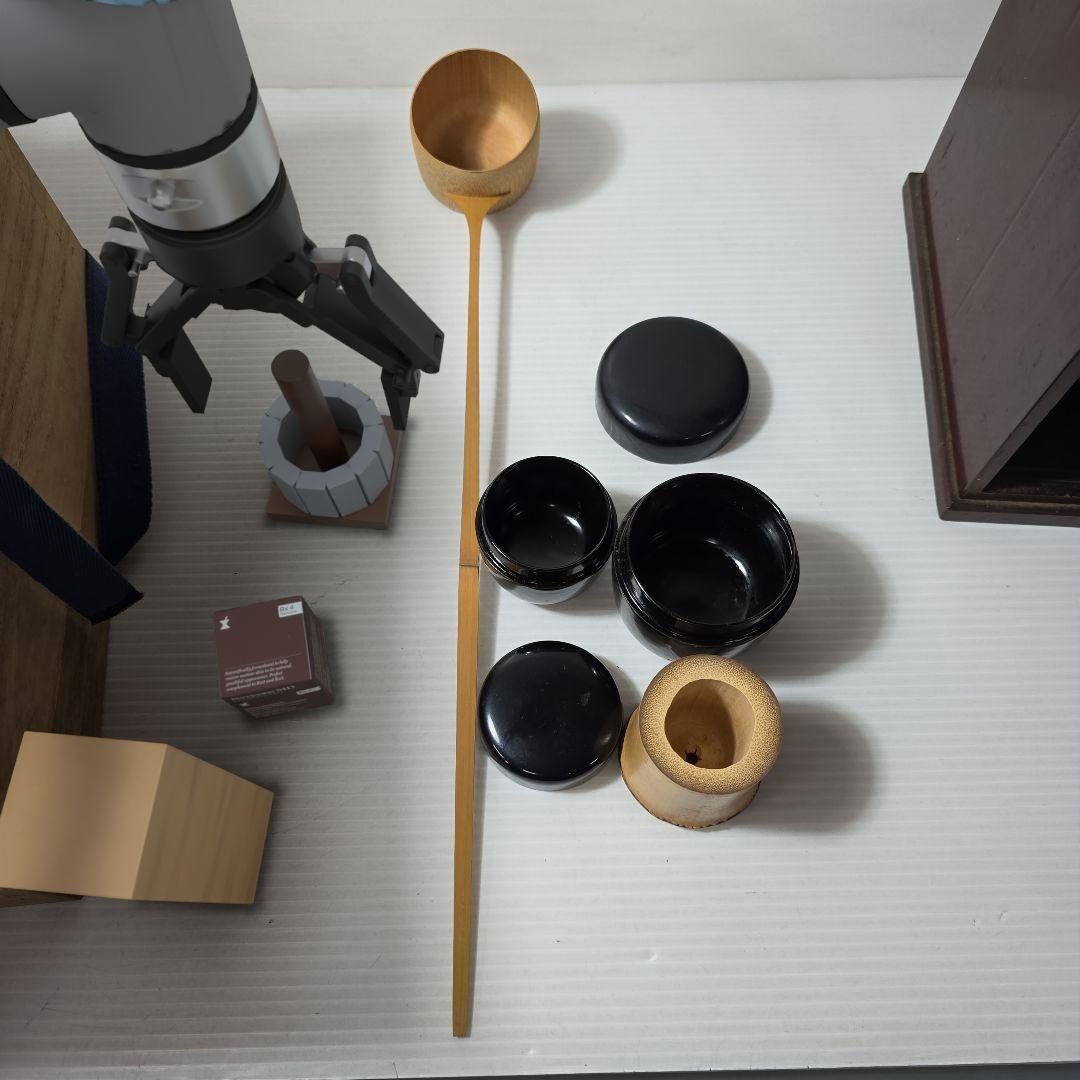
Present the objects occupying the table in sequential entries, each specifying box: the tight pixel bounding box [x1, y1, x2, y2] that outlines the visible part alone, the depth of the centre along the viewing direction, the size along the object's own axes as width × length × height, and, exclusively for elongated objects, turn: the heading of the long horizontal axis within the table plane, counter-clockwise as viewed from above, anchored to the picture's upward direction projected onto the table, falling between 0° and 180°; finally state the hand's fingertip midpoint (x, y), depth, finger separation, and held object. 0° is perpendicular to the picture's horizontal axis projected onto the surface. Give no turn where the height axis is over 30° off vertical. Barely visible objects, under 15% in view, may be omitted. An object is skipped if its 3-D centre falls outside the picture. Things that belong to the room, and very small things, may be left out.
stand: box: [0, 730, 275, 905], centre depth 55 cm, size 7×7×20 cm
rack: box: [265, 348, 404, 531], centre depth 67 cm, size 9×9×16 cm
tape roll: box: [257, 379, 394, 517], centre depth 71 cm, size 9×9×5 cm
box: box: [211, 594, 334, 720], centre depth 65 cm, size 6×6×7 cm
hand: (302, 404), depth 64 cm, fingers open, 13 cm apart
